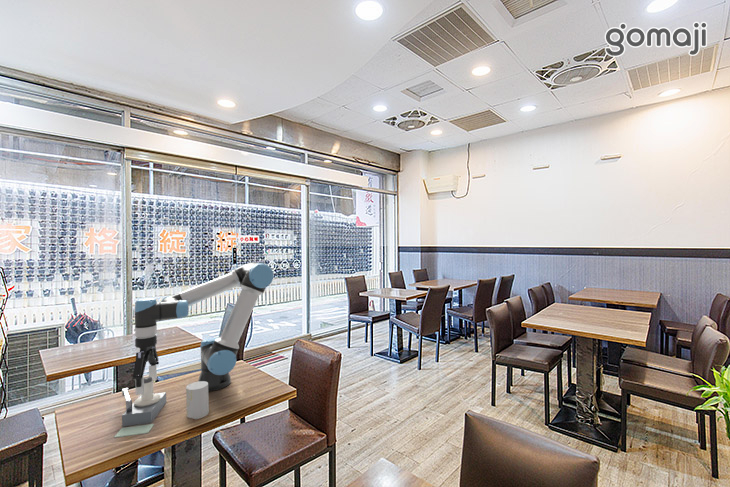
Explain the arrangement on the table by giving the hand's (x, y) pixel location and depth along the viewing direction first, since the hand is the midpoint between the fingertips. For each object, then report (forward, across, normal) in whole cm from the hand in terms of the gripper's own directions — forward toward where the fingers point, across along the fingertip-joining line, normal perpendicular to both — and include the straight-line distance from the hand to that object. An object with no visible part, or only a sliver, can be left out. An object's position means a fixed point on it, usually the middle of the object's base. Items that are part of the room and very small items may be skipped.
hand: (146, 387), depth 139 cm
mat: (+11, +14, +1) cm, 18 cm away
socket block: (+11, +1, 0) cm, 11 cm away
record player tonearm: (+6, +1, -7) cm, 9 cm away
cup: (+11, +6, +21) cm, 24 cm away
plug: (+11, 0, 0) cm, 11 cm away
